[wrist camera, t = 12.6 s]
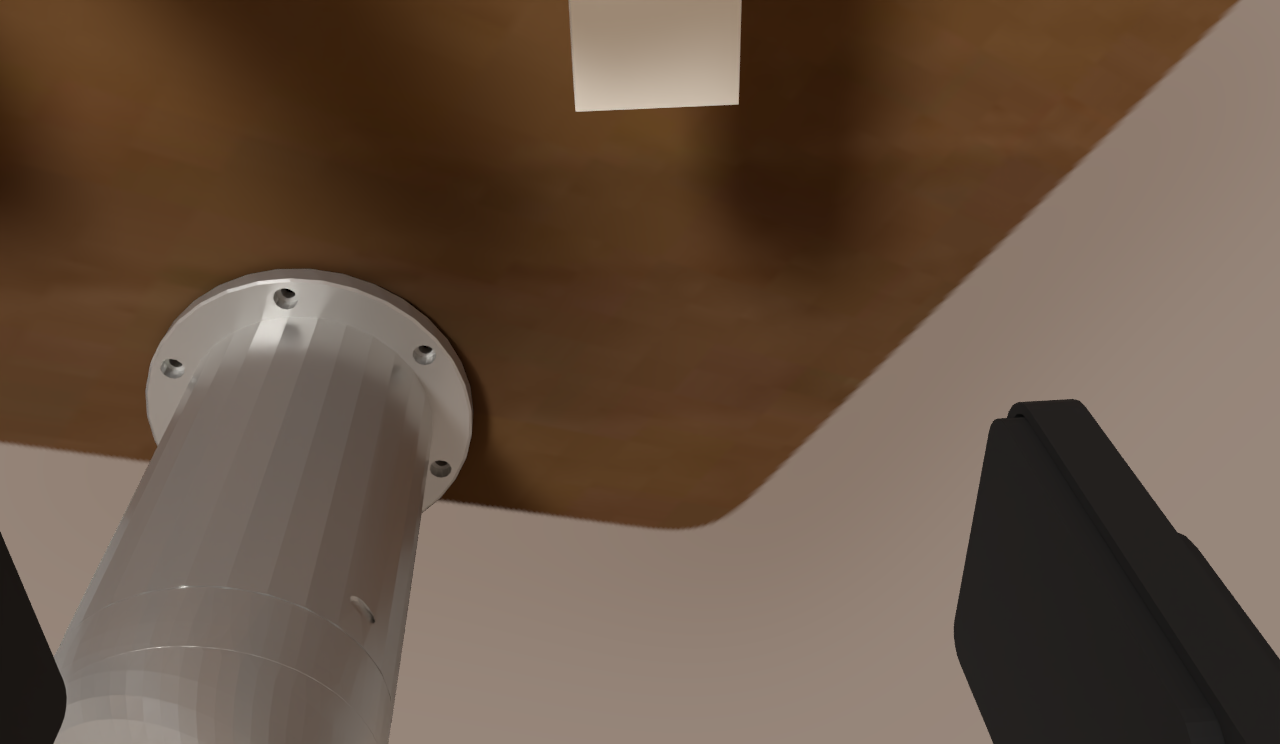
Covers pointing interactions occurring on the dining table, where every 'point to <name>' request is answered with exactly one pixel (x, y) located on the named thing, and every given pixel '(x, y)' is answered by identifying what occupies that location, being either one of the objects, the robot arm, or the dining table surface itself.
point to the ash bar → (655, 53)
